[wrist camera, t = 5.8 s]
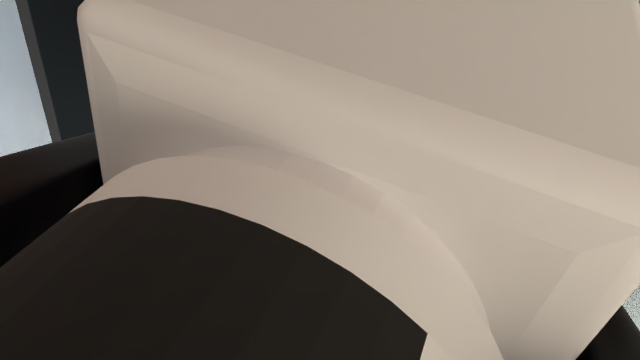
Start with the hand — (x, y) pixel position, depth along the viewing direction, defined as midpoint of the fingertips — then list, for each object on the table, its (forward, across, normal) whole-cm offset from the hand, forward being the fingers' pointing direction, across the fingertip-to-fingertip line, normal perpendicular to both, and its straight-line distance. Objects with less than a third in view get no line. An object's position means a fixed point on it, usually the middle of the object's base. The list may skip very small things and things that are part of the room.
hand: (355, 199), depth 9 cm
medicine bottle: (+5, 0, 0) cm, 5 cm away
